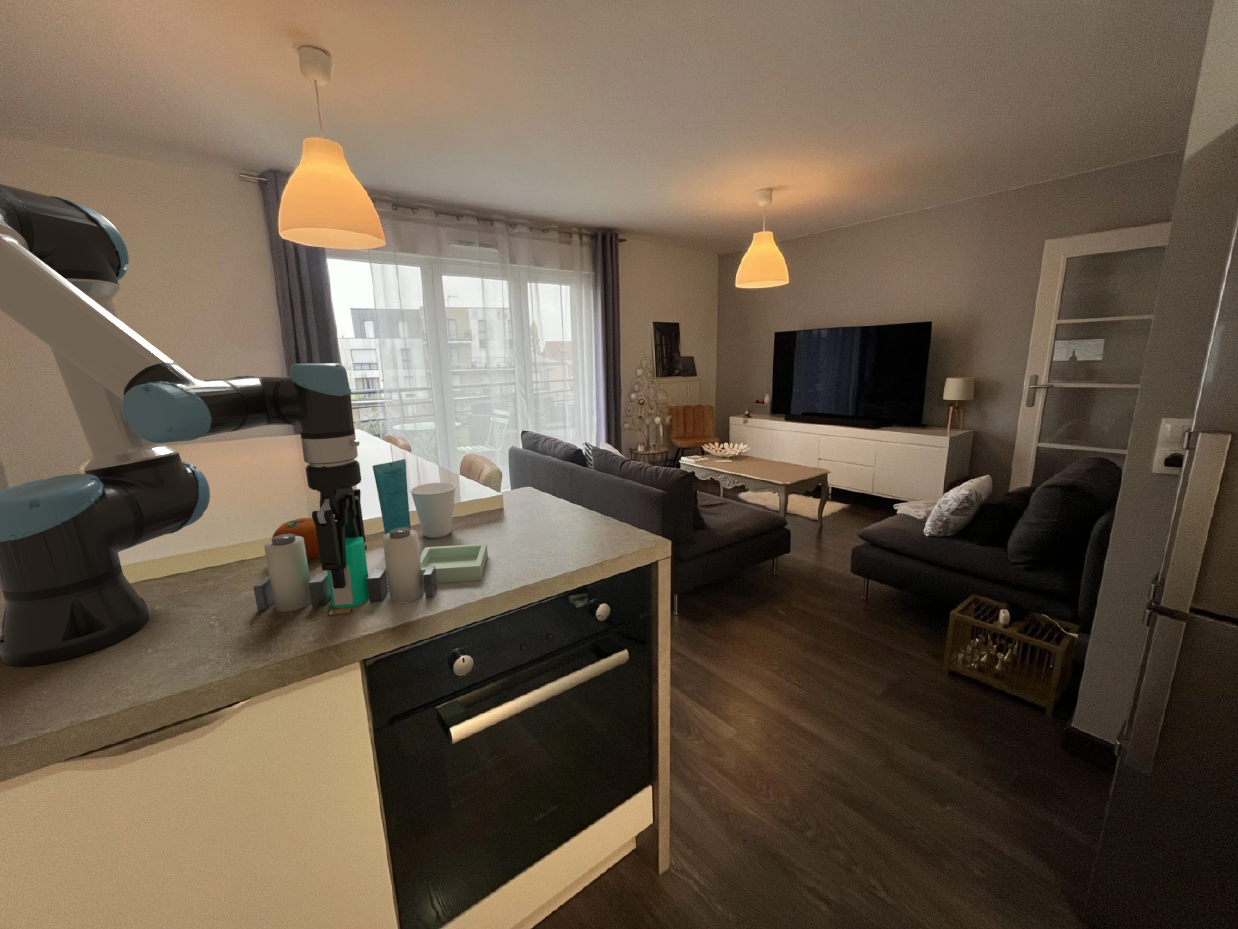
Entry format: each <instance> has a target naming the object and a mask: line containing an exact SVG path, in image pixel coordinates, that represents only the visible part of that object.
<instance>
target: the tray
mask: <svg viewBox="0 0 1238 929" xmlns="http://www.w3.org/2000/svg"><path fill="white" fill-rule="evenodd" d="M488 558H489V555H488V543H475V544H458V545H441V546H425V548H424V549H423V550H422V553H420V561H421V571H422V581H423V585H424V577H423V574H424V573H425V571H426V569H427V567H428V566H435V568H436V579H437V584H446V583H459V582H461V583H462V582H474V581H482V579H483V574H484V571H485V568H486V564H487V560H488Z"/></svg>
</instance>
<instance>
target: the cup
mask: <svg viewBox="0 0 1238 929" xmlns="http://www.w3.org/2000/svg"><path fill="white" fill-rule="evenodd" d="M456 489H457V485H456V484H455V483H452V482H451V483H450V482H429V483H423V484H420V485H415V486H414V487H412V488H410V489H409V493H411V497H412V500H413V503H414V507H415V510H416V513H417V517H418V521H419V524H420V528H421V531H422V534H423V536H425V537H426V538H428V539H429V538H430V539H437V538H443V537H446V536H448V535H450V533H451V532H452V529H453V517H454V507H455V506H454V504H455V496H456V495H455V492H456Z"/></svg>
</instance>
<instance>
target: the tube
mask: <svg viewBox="0 0 1238 929" xmlns="http://www.w3.org/2000/svg"><path fill="white" fill-rule="evenodd" d="M372 471H373V476H374V480H375V485H376V491H377V496H378V502H379V506H380V507H379V508H380V514H381V518H382V524H383V529H384V530H383V531H384V535H386V534H387V533H389V532H390V531H391V530H393V529H396V528H402V527H406V528H410V530H412V529H411V528H412V527H411V517H410V506H409V494H408V492H409V491H408V480H407V479H408V477H407V460H406V459H405V458H403V459H399V460H393V461H389V462H385V463H378V464H374V465H372Z"/></svg>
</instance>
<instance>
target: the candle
mask: <svg viewBox="0 0 1238 929" xmlns="http://www.w3.org/2000/svg"><path fill="white" fill-rule="evenodd" d="M345 543H346V547H345V550H346V566H349V571H350V578H351V585H352V592H353V600H354V603H353V604H345V605H335V602H334V595H333V588H332V581H331V574H330V570H326V573H327V574H328V581H329V587H330V594H331V600H330V601H331V606H332V607H334V608H336V609H344V608H353V607H357V606H360V605H362V604H364V603H366V602H368V601H369V593H368V586H367V577H368V576H369V571H368V563H367V556H366V551H365V547H364V545H365V543H364V540H363V537H356V538H345Z"/></svg>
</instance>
